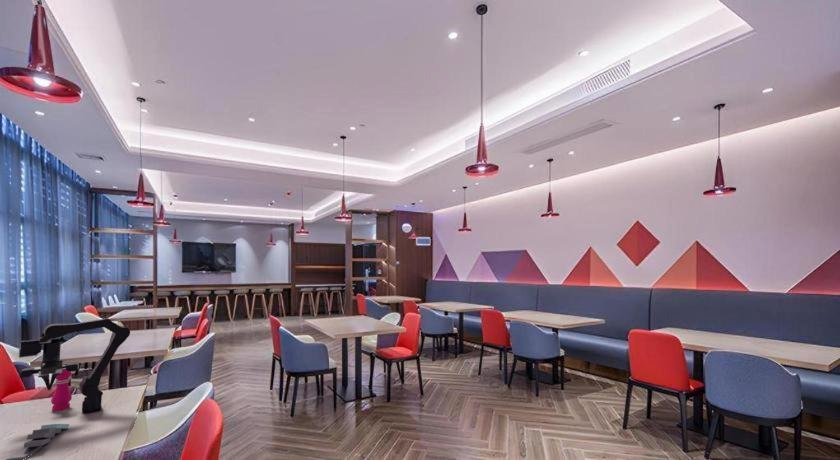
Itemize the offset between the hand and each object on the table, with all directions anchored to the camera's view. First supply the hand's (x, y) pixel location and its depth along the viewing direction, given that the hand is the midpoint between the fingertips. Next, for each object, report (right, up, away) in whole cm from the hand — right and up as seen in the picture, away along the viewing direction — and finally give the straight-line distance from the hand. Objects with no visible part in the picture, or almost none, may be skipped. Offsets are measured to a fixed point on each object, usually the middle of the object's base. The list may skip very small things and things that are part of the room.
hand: (49, 389), depth 174 cm
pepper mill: (-6, -14, +13) cm, 20 cm away
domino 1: (+19, -10, -27) cm, 35 cm away
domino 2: (+16, -11, -19) cm, 27 cm away
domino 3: (+18, -10, -23) cm, 31 cm away
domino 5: (+14, -12, -10) cm, 21 cm away
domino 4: (+15, -11, -14) cm, 23 cm away
